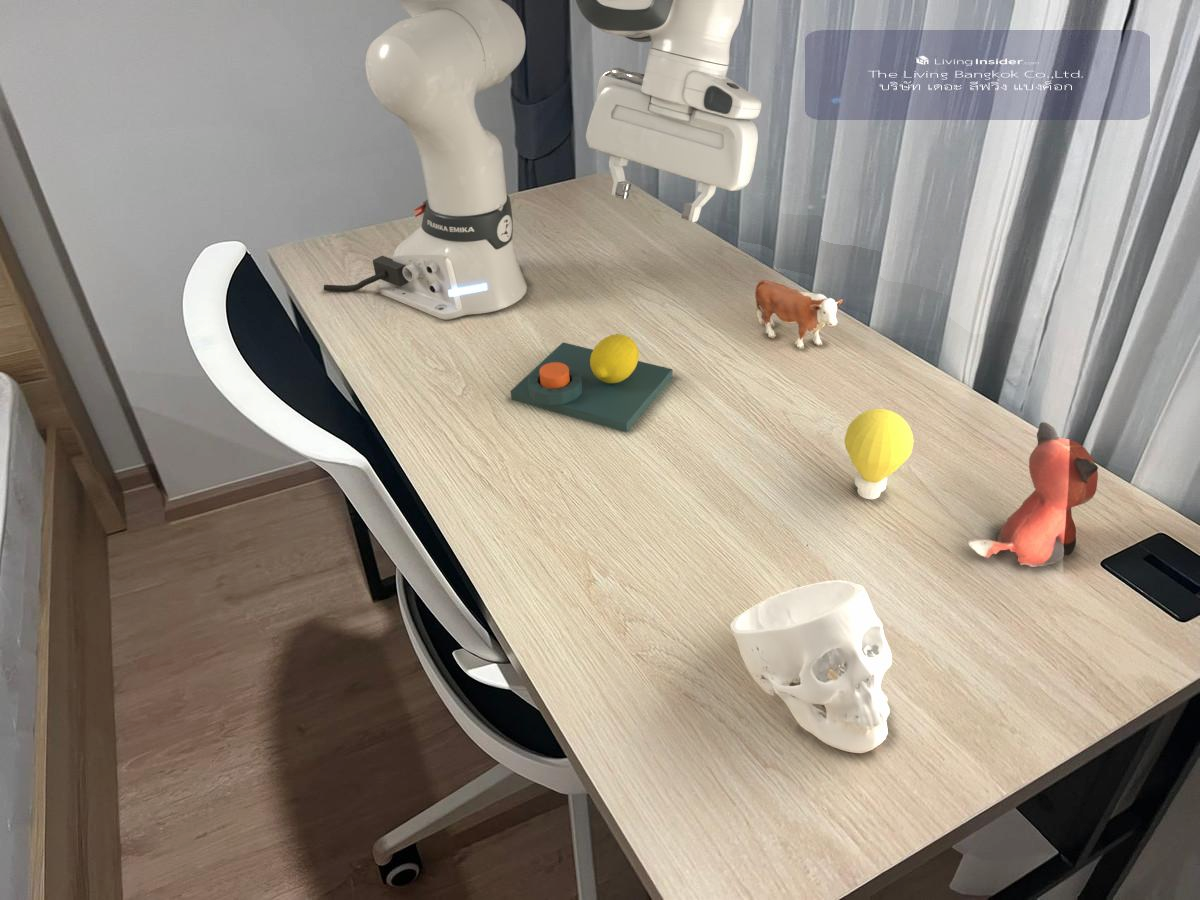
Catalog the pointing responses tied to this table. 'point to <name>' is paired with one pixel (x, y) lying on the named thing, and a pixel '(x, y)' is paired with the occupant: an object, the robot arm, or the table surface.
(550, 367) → the button
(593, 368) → the lemon
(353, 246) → the table surface
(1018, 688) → the table surface
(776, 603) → the skull bowl
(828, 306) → the bull figurine
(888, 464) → the light bulb
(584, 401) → the scale
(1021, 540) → the stuffed fox
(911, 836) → the table surface
